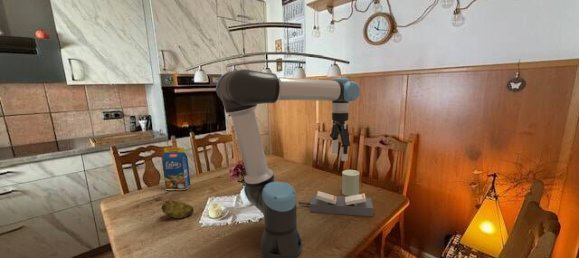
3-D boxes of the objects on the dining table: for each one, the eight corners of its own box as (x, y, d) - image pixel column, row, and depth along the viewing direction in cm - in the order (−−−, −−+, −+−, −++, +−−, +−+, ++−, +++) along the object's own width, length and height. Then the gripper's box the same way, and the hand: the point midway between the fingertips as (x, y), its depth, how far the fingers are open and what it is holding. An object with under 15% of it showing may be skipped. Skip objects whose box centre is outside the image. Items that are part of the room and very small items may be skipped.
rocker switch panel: (297, 211, 117) (297, 200, 116) (300, 201, 126) (300, 191, 126) (373, 216, 110) (373, 205, 109) (370, 205, 120) (370, 195, 119)
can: (359, 197, 129) (360, 175, 127) (341, 196, 131) (341, 174, 129) (358, 189, 138) (359, 169, 136) (341, 188, 140) (341, 168, 138)
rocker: (316, 198, 114) (317, 195, 114) (317, 193, 119) (318, 190, 119) (335, 204, 113) (336, 201, 113) (335, 199, 118) (336, 196, 118)
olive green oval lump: (186, 222, 110) (184, 205, 109) (159, 220, 112) (157, 204, 111) (195, 212, 119) (194, 197, 117) (171, 211, 120) (169, 195, 119)
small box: (346, 205, 112) (345, 201, 112) (345, 200, 117) (345, 196, 117) (366, 201, 110) (365, 198, 110) (365, 196, 115) (364, 193, 115)
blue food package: (171, 186, 151) (166, 146, 146) (190, 186, 150) (186, 146, 145) (165, 191, 145) (160, 149, 140) (185, 191, 144) (181, 149, 139)
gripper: (359, 114, 103) (357, 163, 107) (339, 109, 128) (338, 149, 131) (341, 115, 102) (340, 164, 106) (324, 109, 127) (324, 150, 130)
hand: (339, 156), depth 118 cm, fingers open, 13 cm apart
